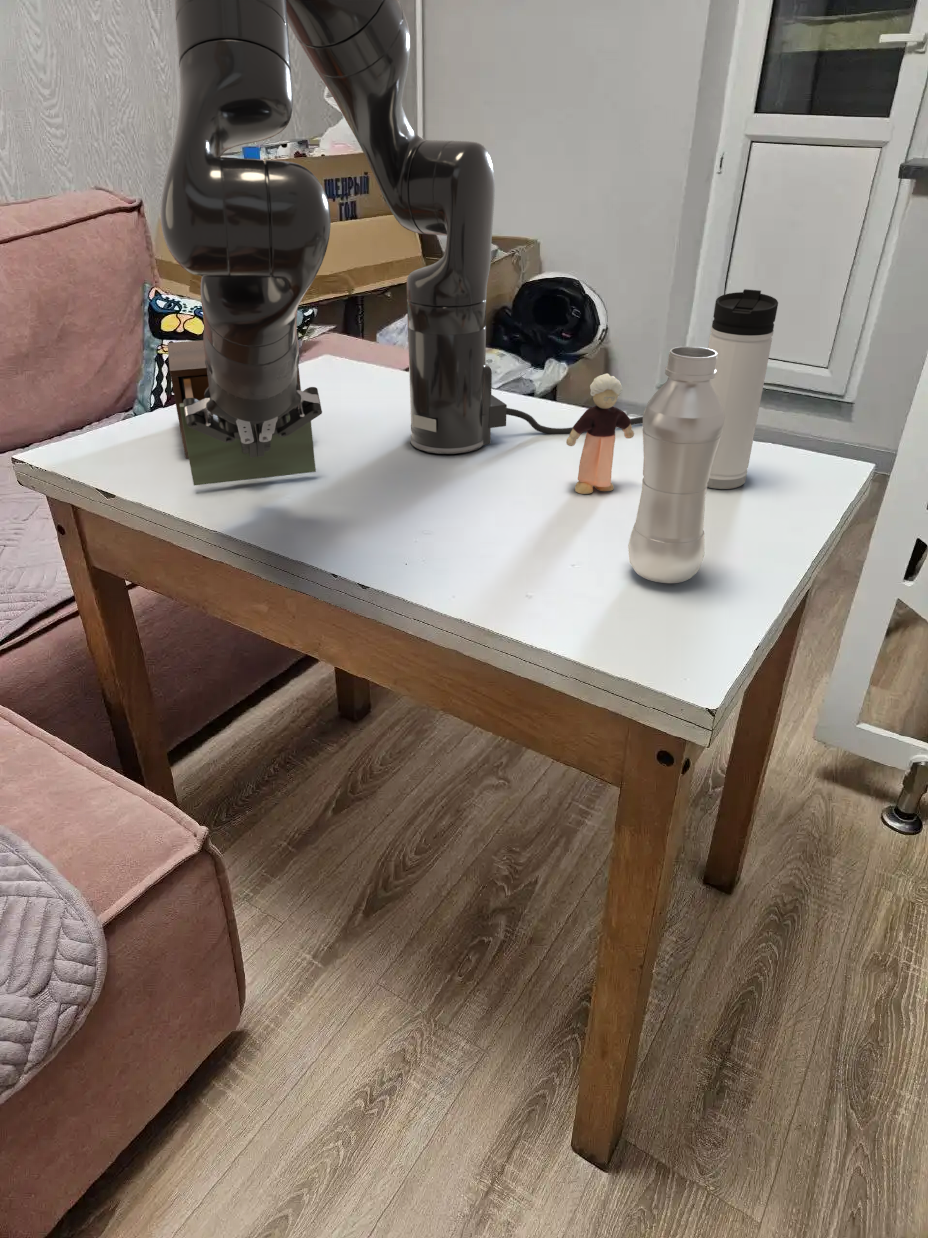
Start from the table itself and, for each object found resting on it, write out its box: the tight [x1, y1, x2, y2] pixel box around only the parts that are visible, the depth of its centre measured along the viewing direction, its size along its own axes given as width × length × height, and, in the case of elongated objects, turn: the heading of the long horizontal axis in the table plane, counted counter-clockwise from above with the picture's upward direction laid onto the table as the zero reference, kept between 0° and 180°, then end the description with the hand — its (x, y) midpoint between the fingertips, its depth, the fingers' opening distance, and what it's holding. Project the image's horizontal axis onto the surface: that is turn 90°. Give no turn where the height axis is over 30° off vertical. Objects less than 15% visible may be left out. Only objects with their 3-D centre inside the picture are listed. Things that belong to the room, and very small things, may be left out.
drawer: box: [180, 375, 317, 486], centre depth 96 cm, size 14×13×9 cm
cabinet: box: [166, 339, 302, 460], centre depth 106 cm, size 14×15×11 cm
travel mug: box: [707, 288, 779, 490], centre depth 91 cm, size 6×7×20 cm
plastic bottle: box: [627, 346, 725, 584], centre depth 72 cm, size 6×7×20 cm
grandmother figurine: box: [565, 373, 635, 495], centre depth 91 cm, size 8×4×13 cm, turn 117°
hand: (255, 448), depth 87 cm, fingers closed
